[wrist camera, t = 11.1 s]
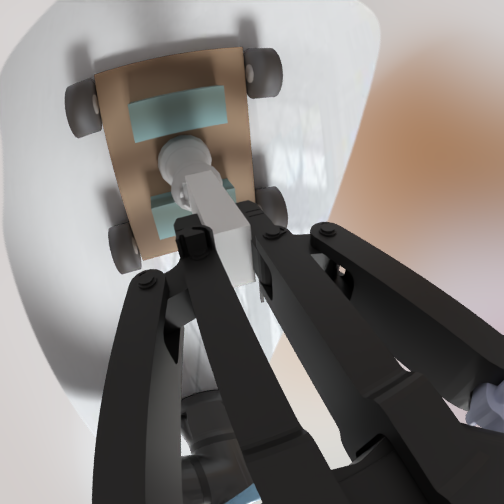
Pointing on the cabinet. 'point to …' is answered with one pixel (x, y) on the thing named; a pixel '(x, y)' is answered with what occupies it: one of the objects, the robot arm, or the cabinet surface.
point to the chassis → (175, 135)
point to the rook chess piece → (184, 165)
